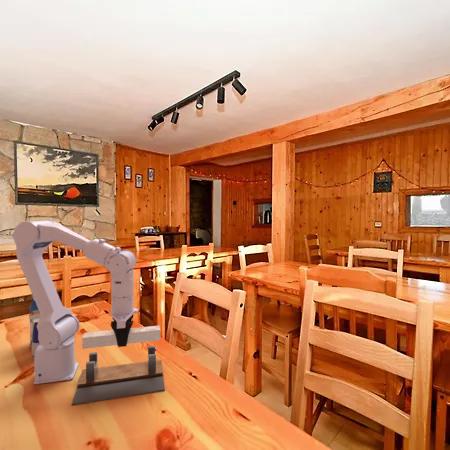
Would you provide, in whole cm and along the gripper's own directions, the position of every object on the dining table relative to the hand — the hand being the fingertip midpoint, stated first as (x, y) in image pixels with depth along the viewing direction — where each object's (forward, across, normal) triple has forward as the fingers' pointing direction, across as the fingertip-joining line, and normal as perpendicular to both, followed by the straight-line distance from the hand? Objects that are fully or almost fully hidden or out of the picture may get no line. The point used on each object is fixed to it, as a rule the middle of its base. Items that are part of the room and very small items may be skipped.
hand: (122, 343), depth 79 cm
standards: (+10, +1, 0) cm, 10 cm away
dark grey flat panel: (+10, -6, 0) cm, 11 cm away
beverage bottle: (+10, +28, +27) cm, 40 cm away
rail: (0, 0, 0) cm, 0 cm away
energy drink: (+10, +18, +25) cm, 33 cm away
